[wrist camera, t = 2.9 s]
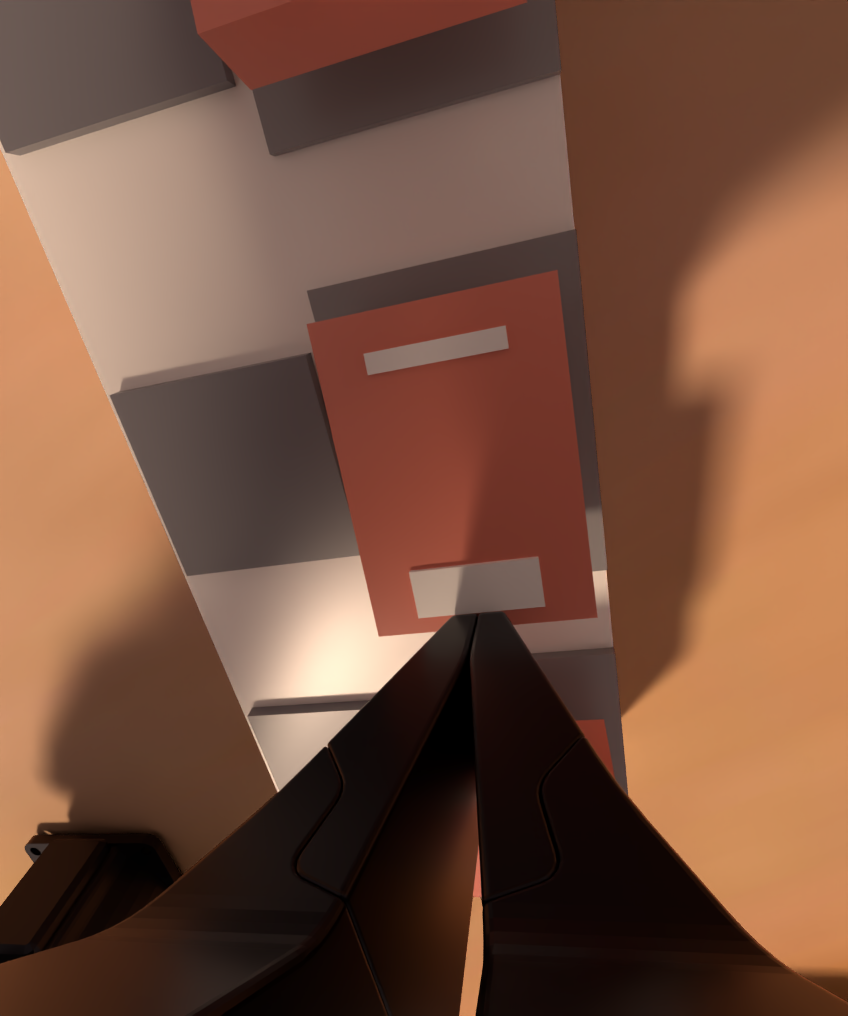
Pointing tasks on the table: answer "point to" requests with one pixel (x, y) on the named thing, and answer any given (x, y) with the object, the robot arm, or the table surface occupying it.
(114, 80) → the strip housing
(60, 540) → the table surface
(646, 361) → the table surface
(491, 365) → the rocker
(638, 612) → the table surface
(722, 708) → the table surface
